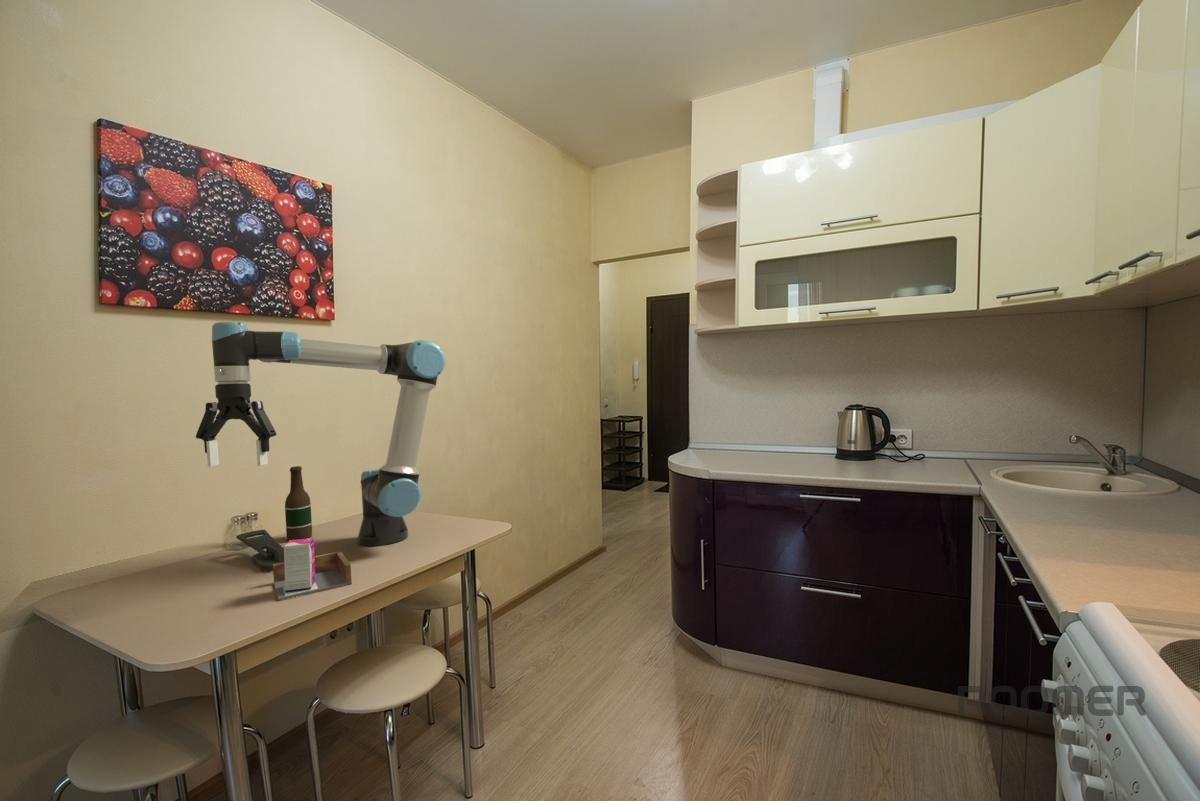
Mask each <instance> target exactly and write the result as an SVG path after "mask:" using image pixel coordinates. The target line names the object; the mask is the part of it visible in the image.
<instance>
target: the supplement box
mask: <svg viewBox="0 0 1200 801" xmlns="http://www.w3.org/2000/svg"><path fill="white" fill-rule="evenodd" d="M283 548H284V566H285V593H289V592H296V591H304V590H310V589H311V588H312V586H313V584H314V583H315V556H316V555H315V538H314V537H311V538H308V539H298V540H290V541H287V543H286V544H285V545H284V546H283Z"/></svg>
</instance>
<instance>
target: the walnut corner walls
mask: <svg viewBox="0 0 1200 801" xmlns="http://www.w3.org/2000/svg"><path fill="white" fill-rule="evenodd" d="M314 556H315V574H317V573H322V572H326V571H331V570H336V569H338V570H339V572H340V574H341V575H342V577H343V578H344V580H345V582H346V583H349V584H350V582H351V585H352V566H351V563H350V562H349V560H348V559H347V558H346V556H345V555H344V553H343V552H342V551H341V550H340V551H339V550H338V551H335V552H330V553H325V554H320V555H314ZM272 572H273V583H274V582H279V581H284V580H285V566H284V562H282V563H277V564H273V571H272ZM346 586H348V585H347V584H346Z"/></svg>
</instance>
